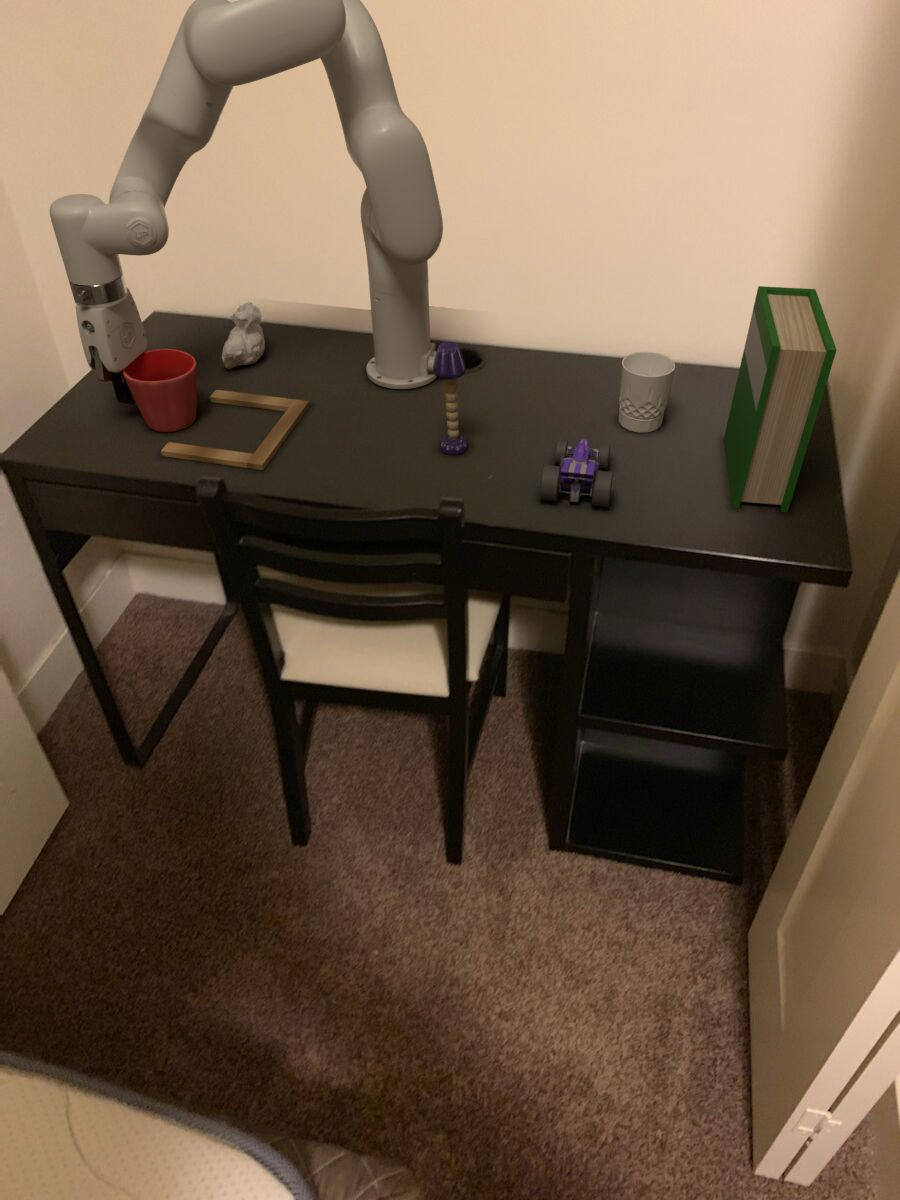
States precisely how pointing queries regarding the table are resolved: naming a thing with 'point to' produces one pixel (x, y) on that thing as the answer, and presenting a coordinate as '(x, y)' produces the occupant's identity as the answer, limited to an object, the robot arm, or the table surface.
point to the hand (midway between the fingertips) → (129, 400)
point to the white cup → (644, 390)
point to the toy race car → (578, 473)
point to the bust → (244, 337)
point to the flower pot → (164, 388)
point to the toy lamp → (451, 394)
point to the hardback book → (777, 395)
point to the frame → (268, 446)
